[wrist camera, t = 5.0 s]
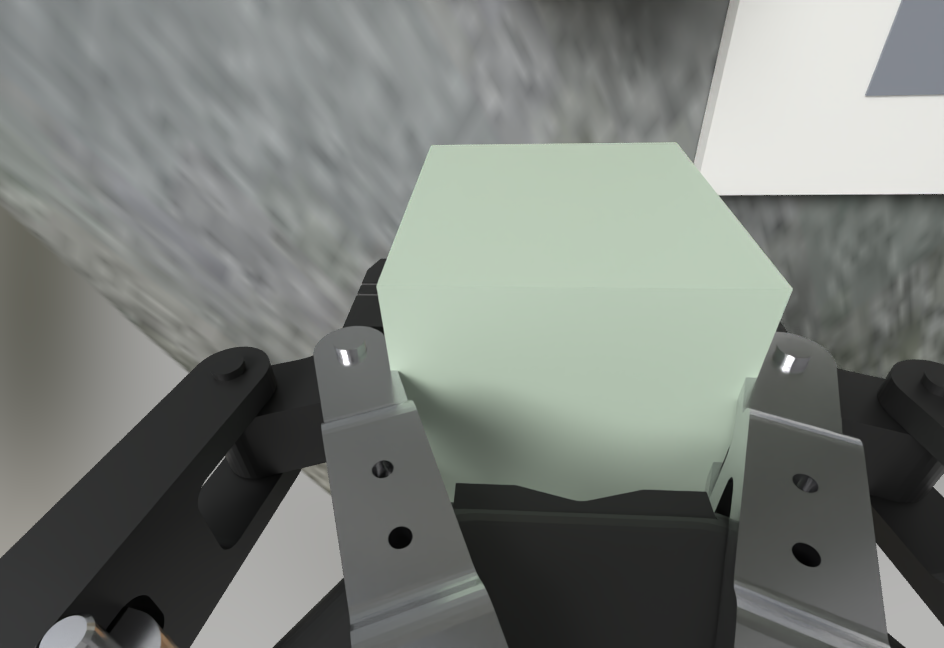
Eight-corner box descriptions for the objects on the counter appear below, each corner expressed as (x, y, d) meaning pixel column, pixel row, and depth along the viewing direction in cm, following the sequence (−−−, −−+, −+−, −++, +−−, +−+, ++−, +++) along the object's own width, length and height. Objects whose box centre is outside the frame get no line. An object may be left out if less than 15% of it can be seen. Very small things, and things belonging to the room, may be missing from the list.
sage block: (431, 145, 12) (376, 285, 7) (676, 142, 12) (793, 289, 7) (445, 334, 15) (415, 517, 10) (637, 336, 15) (696, 528, 10)
